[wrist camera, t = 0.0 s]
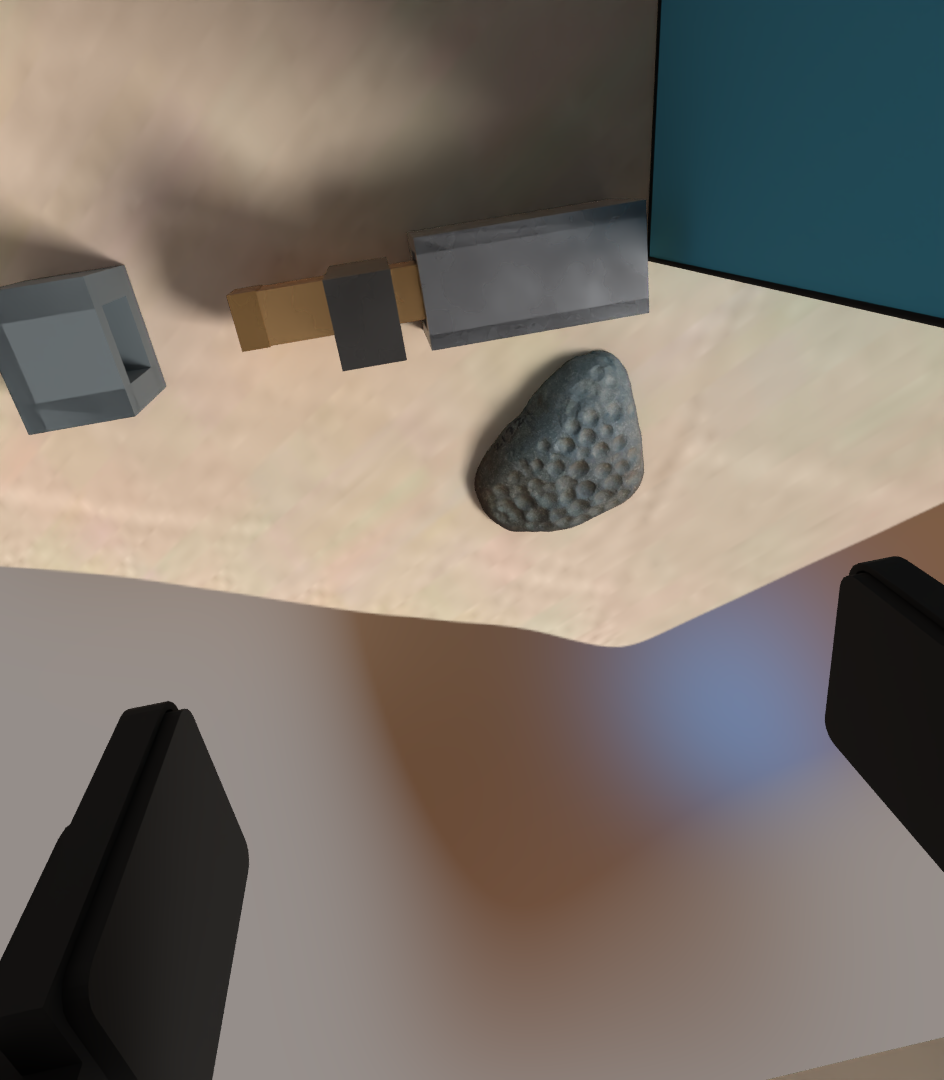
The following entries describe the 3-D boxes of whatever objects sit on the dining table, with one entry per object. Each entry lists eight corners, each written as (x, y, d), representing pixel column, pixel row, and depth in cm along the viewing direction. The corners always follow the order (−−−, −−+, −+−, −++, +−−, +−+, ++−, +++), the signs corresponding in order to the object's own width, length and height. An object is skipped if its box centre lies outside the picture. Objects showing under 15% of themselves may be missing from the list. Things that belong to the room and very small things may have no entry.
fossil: (668, 453, 50) (691, 472, 46) (517, 553, 51) (528, 579, 48) (602, 334, 45) (622, 345, 42) (439, 448, 47) (445, 468, 44)
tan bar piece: (232, 278, 39) (195, 301, 30) (618, 214, 40) (686, 219, 31) (253, 351, 40) (223, 392, 32) (621, 287, 42) (686, 311, 33)
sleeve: (406, 232, 41) (413, 238, 35) (606, 199, 41) (646, 199, 36) (423, 330, 43) (432, 350, 37) (611, 297, 44) (649, 312, 38)
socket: (24, 281, 39) (-35, 295, 33) (124, 264, 39) (82, 276, 34) (74, 402, 42) (28, 434, 36) (166, 386, 43) (135, 416, 37)
